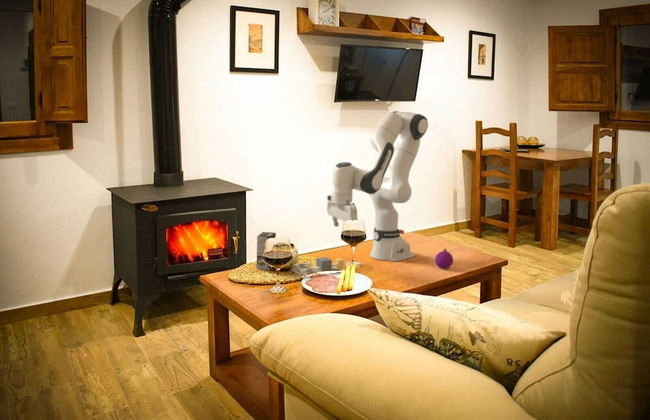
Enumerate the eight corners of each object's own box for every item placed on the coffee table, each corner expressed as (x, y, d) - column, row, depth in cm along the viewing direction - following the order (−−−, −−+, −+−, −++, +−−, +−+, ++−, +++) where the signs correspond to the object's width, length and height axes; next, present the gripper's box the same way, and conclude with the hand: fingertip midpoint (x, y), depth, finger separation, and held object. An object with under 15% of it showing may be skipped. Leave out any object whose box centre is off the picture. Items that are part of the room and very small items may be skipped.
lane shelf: (339, 264, 283) (339, 256, 282) (354, 272, 272) (355, 264, 271) (289, 271, 270) (290, 263, 269) (303, 280, 259) (304, 271, 258)
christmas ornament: (446, 272, 278) (448, 251, 276) (431, 267, 283) (432, 247, 281) (455, 268, 284) (457, 247, 282) (440, 264, 289) (442, 244, 287)
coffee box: (269, 272, 267) (270, 237, 264) (256, 271, 269) (256, 236, 265) (275, 266, 276) (276, 232, 273) (262, 265, 277) (262, 231, 274)
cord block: (338, 265, 278) (339, 255, 277) (344, 268, 273) (344, 258, 272) (316, 268, 272) (316, 258, 271) (321, 272, 268) (322, 261, 267)
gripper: (361, 202, 265) (360, 233, 268) (336, 194, 282) (335, 223, 285) (349, 203, 261) (348, 234, 264) (324, 195, 278) (324, 224, 281)
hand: (341, 228), depth 275 cm, fingers open, 8 cm apart
